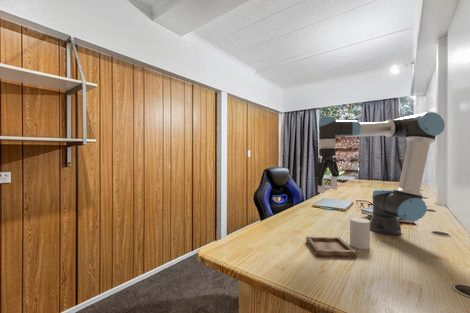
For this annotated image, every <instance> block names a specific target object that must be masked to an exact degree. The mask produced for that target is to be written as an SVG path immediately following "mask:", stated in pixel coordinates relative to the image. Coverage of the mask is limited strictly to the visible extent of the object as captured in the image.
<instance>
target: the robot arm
mask: <svg viewBox="0 0 470 313" xmlns="http://www.w3.org/2000/svg"><path fill="white" fill-rule="evenodd" d="M445 126H446V124H445V120H444V118H443V117H442V116H441V115H440V114H439V113H437V112H434V111H428V112H427V111H426V112H424V111H423V112H421V113H418V114H417V113H416V114H412V115H408V116H403V117H399V118H395V119H387V120H385V121H380V122H379V121H378V122H377V121H376V122H375V121H374V122H359V121H358V120H337V119H336V116H334V115H326V116H321V117H320V118H319V120H318V136H319V137H318V138H319V139H318V140H319V142H318V147H319V149H318V152H319V153H318V154H319V157H318V159H317V160H318V161H317V166H316V170H315V174H314V178H315V179H317V193H321V194H324V193H325V178H324V176H325V174H326V170H327V169H328V171H330V174H331V176H330V189H331V190H336V191H337V190H338V177H340V171H339V166H338V163H337V157H335V156H337V150H336V146H337V143H336V142H337V141H336V139H337V138H352V137H353V138H356V137H359V138H360V137H376V136H377V137H378V136H380V137H381V136H385V137H386V138H405V140H406V141H407V144H406V145H407V146H406V150H405V156H404V159H403V164H402V168H401V174H400V178H399V184H398V187H396V188H394V189H374V190H373V191H372V216H371V218H370V220H369V221H370V231H373V232H375V233H378V234H383V235H391V236H397V235H401V234H402V227H401V225H400V222H399V220H398V219H401V220H405V221H409V222H417V221H419V220H420V219H423V217H424V216H425V215H426V213H427V210H428V209H427V208H428V206H427V204H426V202H425V200H423V196H424V195H423V194H422V193H421V188H422V183H423V177H424V175H425V174H424V173H425V168H426V164H427V161H428V160H427V159H428V155H429V150H430V147H431V146H430V145H431V144H432V143H434V142H435V141H436V136H438V135H439V136H440V135H441V134H442V133H443V132H444V130H445Z"/></svg>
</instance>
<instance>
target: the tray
mask: <svg viewBox="0 0 470 313" xmlns="http://www.w3.org/2000/svg"><path fill="white" fill-rule="evenodd" d="M305 242H306V244H307V245H308V246H309V247H310V249H311V250H312V252H313V253H314V255H315V256H316V257H317V258H342V259H343V258H346V259H347V258H349V259H350V258H352V259H353V258H354V259H356V258H357V251H356V250H355V249H354V247H353V248H352V246H351V245H350V244H348V243H347V242H346V241H344V240H343V239H342V238H341V237H340V236H339V237H338V236H337V237H336V236H306V240H305Z"/></svg>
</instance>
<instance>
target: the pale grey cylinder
mask: <svg viewBox="0 0 470 313" xmlns="http://www.w3.org/2000/svg"><path fill="white" fill-rule="evenodd" d="M370 244H371V230H370V220H369V219H367V218H361V217H350V218H349V246H350V247H353V248H355V249H361V250H368V249H370V247H371V245H370Z"/></svg>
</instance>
